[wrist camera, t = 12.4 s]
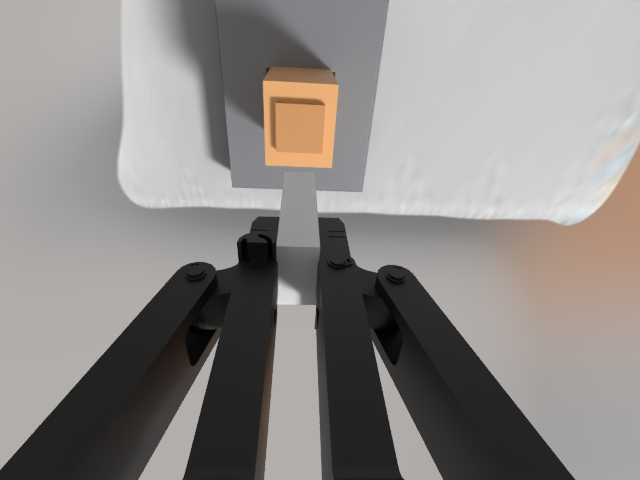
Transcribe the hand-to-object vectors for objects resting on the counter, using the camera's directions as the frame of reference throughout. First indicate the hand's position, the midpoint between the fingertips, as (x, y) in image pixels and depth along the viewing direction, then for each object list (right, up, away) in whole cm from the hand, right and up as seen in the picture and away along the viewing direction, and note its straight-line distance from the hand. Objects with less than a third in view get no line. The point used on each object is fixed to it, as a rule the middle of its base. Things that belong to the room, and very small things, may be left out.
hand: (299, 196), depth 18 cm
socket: (-1, +14, +22) cm, 26 cm away
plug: (-1, +14, +21) cm, 25 cm away
